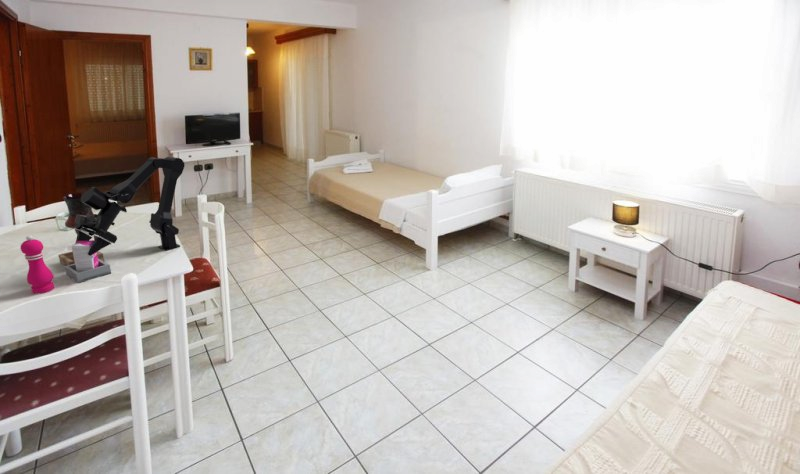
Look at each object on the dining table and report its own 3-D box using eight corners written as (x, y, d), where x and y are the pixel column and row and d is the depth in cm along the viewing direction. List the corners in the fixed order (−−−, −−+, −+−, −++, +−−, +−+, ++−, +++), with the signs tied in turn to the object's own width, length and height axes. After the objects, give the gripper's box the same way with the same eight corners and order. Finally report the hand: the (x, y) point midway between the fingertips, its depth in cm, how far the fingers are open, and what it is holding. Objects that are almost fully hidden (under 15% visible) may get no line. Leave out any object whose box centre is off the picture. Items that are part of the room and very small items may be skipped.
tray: (111, 273, 173) (109, 264, 172) (78, 283, 165) (76, 274, 164) (98, 265, 180) (96, 257, 178) (66, 275, 171) (64, 266, 170)
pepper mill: (39, 285, 163) (24, 232, 156) (60, 284, 164) (47, 232, 157) (25, 294, 156) (9, 239, 149) (48, 294, 157) (33, 239, 150)
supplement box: (95, 274, 170) (88, 245, 166) (77, 275, 169) (69, 246, 165) (100, 267, 175) (94, 239, 172) (83, 269, 174) (76, 240, 170)
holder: (104, 261, 184) (102, 253, 182) (71, 270, 175) (69, 262, 174) (92, 254, 190) (90, 246, 189) (60, 263, 181) (58, 254, 180)
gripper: (73, 201, 172) (47, 237, 166) (101, 209, 163) (75, 248, 158) (99, 216, 181) (75, 251, 176) (127, 224, 172) (103, 261, 167)
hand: (82, 252), depth 169 cm, fingers open, 9 cm apart
